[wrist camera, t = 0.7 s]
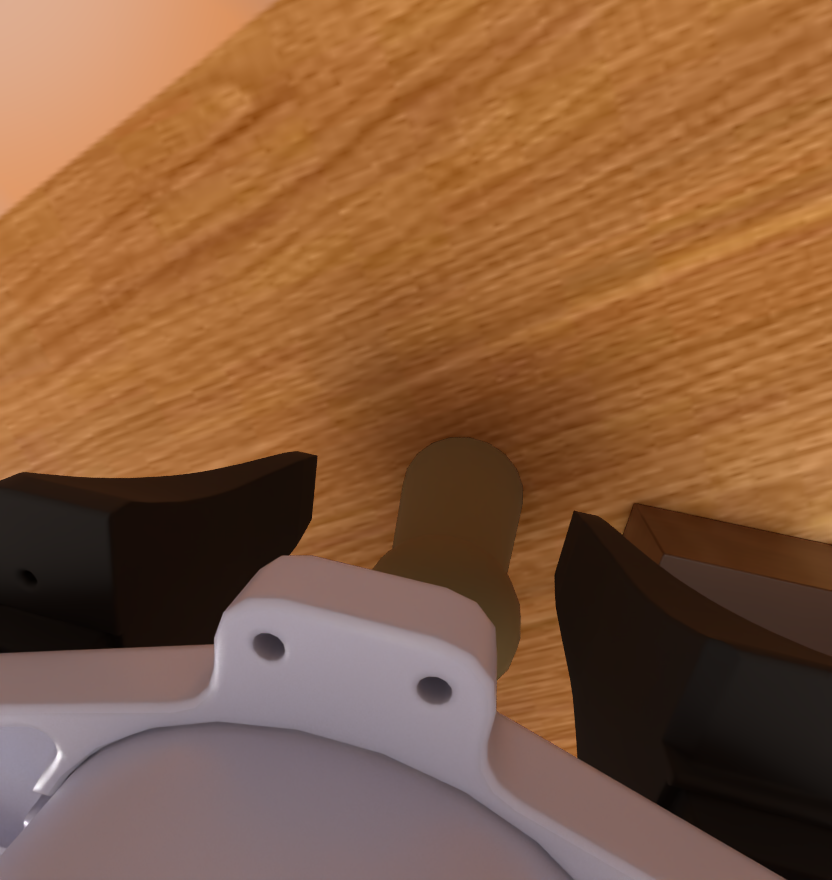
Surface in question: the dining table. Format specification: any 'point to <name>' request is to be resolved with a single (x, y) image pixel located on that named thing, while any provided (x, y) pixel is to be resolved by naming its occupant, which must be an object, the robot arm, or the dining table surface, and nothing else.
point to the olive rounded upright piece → (462, 530)
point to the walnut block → (744, 570)
